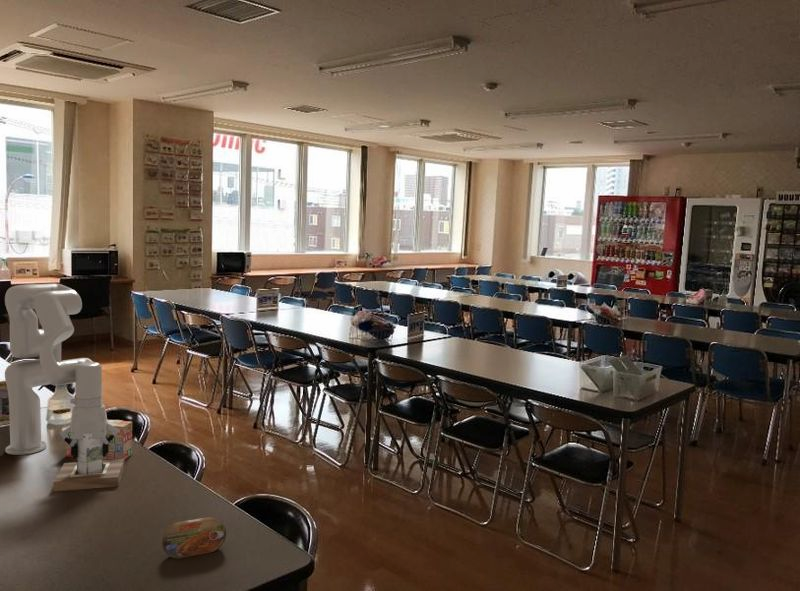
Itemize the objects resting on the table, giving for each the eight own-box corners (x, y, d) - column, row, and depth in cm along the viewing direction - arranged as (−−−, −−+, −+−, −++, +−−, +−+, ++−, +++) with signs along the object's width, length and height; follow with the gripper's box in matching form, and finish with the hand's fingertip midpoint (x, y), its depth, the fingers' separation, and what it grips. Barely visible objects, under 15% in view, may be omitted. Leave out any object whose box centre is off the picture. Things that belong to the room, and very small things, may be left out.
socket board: (64, 472, 210) (64, 462, 210) (124, 467, 216) (124, 458, 215) (53, 491, 195) (53, 481, 195) (118, 486, 200) (118, 476, 200)
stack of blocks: (64, 457, 224) (63, 422, 223) (75, 451, 230) (75, 417, 229) (123, 461, 222) (123, 426, 221) (133, 455, 228) (132, 420, 227)
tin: (162, 561, 157) (162, 527, 156) (161, 555, 160) (161, 522, 159) (226, 550, 163) (226, 518, 162) (224, 544, 166) (224, 513, 165)
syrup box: (94, 469, 209) (93, 426, 208) (104, 474, 206) (103, 429, 204) (76, 475, 205) (75, 430, 203) (86, 479, 201) (85, 434, 200)
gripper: (55, 406, 197) (57, 462, 199) (117, 403, 202) (118, 458, 204) (60, 400, 204) (62, 454, 206) (120, 397, 209) (121, 450, 211)
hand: (90, 456), depth 205 cm, fingers closed on syrup box, 8 cm apart
